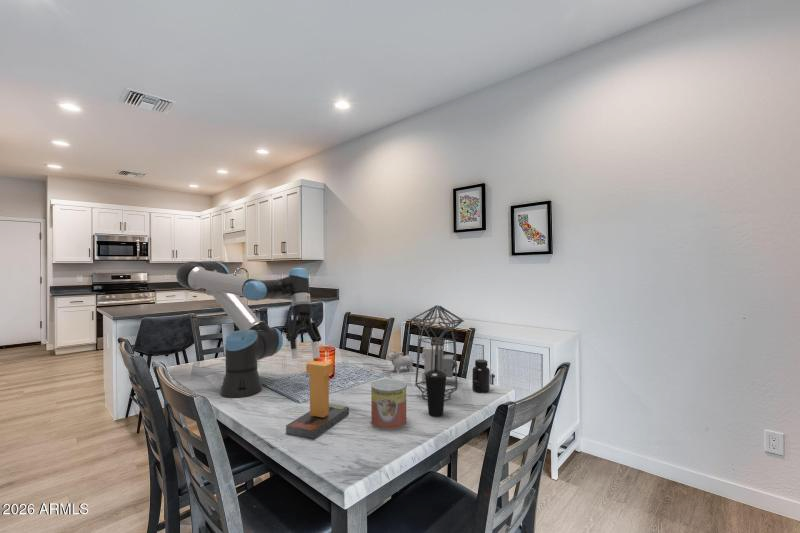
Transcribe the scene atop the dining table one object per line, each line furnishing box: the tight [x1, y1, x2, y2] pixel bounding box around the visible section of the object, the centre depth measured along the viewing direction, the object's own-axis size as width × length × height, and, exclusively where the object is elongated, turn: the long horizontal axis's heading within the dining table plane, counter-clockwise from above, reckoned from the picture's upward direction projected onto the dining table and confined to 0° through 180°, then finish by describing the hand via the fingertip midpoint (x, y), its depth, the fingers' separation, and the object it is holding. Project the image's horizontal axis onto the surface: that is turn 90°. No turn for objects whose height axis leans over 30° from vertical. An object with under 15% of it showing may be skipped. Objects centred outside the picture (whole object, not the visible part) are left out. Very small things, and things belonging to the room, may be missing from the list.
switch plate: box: [285, 403, 350, 440], centre depth 121 cm, size 20×10×3 cm, turn 158°
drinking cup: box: [424, 354, 448, 418], centre depth 129 cm, size 8×8×20 cm
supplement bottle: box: [471, 359, 491, 394], centre depth 153 cm, size 7×7×12 cm
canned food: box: [370, 379, 408, 431], centre depth 122 cm, size 11×11×12 cm
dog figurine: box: [386, 349, 414, 374], centre depth 181 cm, size 5×13×11 cm, turn 114°
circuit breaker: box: [421, 344, 458, 386], centre depth 163 cm, size 8×14×15 cm, turn 78°
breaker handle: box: [305, 360, 333, 418], centre depth 121 cm, size 4×7×16 cm, turn 68°
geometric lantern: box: [410, 304, 465, 402], centre depth 145 cm, size 16×16×35 cm
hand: (306, 358), depth 149 cm, fingers open, 13 cm apart
